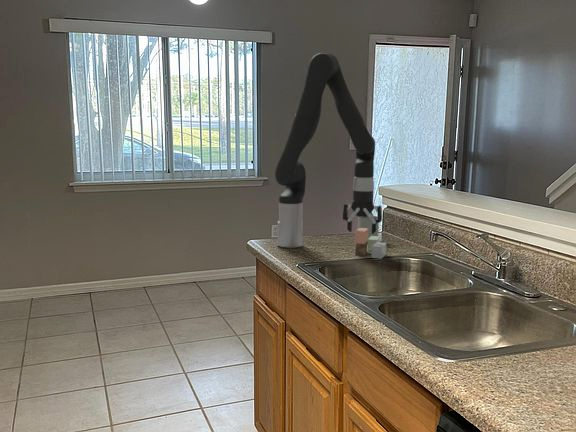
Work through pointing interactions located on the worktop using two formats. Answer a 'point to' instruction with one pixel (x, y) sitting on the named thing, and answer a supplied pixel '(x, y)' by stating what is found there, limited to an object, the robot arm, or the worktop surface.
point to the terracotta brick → (361, 235)
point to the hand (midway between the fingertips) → (361, 232)
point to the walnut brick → (361, 249)
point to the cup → (368, 225)
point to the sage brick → (372, 241)
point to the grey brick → (379, 250)
